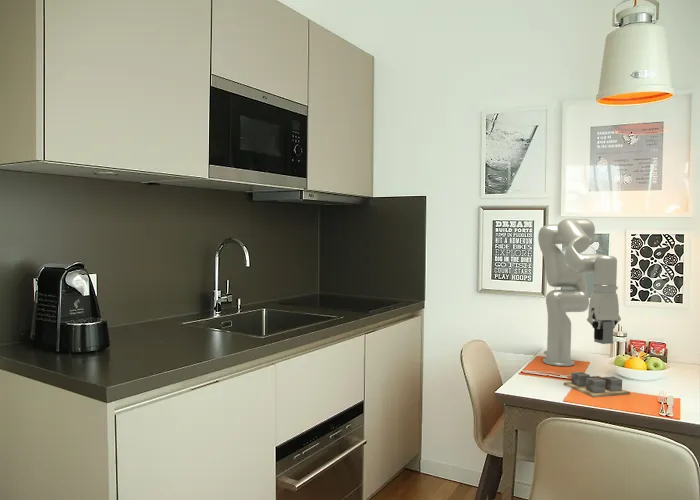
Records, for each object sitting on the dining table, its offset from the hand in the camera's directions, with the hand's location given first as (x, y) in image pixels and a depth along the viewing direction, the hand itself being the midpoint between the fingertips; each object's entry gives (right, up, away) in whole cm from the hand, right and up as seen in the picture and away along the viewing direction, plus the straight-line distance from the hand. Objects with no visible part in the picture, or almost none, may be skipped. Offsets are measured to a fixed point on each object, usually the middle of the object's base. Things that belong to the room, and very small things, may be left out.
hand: (603, 338), depth 208 cm
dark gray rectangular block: (0, -1, 0) cm, 1 cm away
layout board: (-5, -17, -5) cm, 19 cm away
